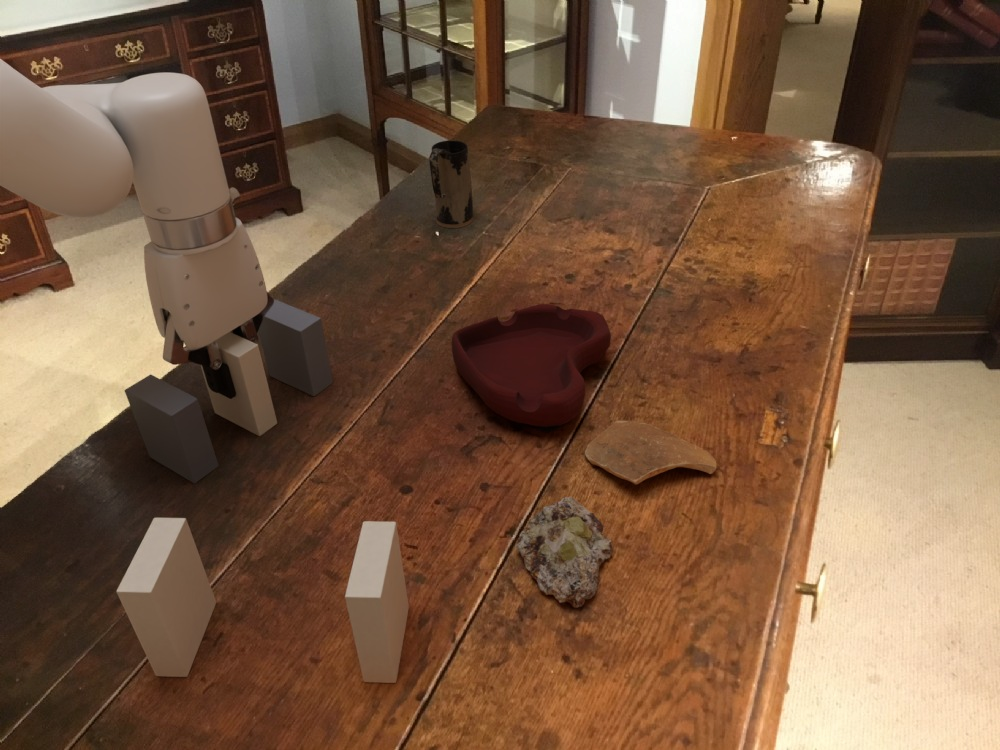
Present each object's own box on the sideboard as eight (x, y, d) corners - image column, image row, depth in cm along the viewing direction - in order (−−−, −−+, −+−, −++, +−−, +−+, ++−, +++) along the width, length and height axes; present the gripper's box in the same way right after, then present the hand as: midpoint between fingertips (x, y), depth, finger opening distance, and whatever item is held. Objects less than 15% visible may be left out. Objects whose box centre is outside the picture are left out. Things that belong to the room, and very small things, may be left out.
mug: (446, 208, 128) (440, 130, 120) (479, 213, 126) (475, 135, 119) (422, 231, 122) (414, 151, 115) (457, 237, 120) (451, 156, 113)
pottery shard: (721, 470, 81) (725, 450, 79) (656, 517, 76) (658, 497, 75) (639, 417, 87) (641, 398, 86) (574, 458, 83) (575, 438, 81)
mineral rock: (507, 499, 75) (595, 476, 74) (521, 530, 78) (606, 508, 77) (516, 600, 67) (615, 576, 66) (532, 630, 70) (627, 608, 68)
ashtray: (482, 325, 102) (480, 289, 99) (616, 349, 97) (618, 312, 94) (421, 416, 89) (417, 378, 86) (573, 448, 84) (574, 409, 81)
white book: (214, 413, 90) (190, 334, 84) (232, 400, 92) (210, 323, 86) (259, 436, 87) (238, 357, 81) (277, 423, 88) (258, 344, 82)
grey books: (149, 457, 85) (123, 390, 80) (288, 362, 97) (274, 299, 92) (194, 484, 82) (171, 415, 76) (333, 382, 94) (321, 317, 89)
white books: (155, 676, 65) (115, 591, 59) (187, 601, 70) (153, 517, 64) (396, 683, 64) (380, 597, 58) (409, 606, 69) (396, 521, 63)
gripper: (233, 179, 83) (270, 336, 94) (86, 247, 72) (146, 414, 83) (287, 196, 79) (319, 357, 90) (140, 270, 69) (196, 442, 80)
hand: (236, 383), depth 87 cm, fingers closed on white book, 2 cm apart
